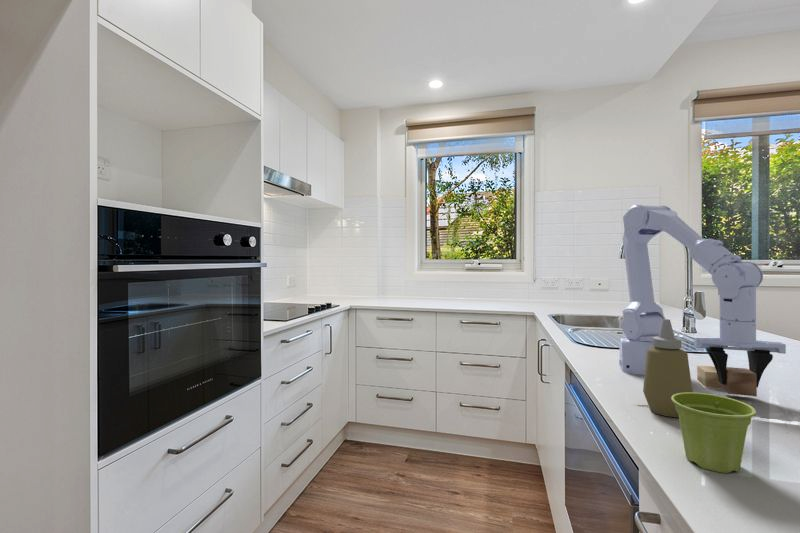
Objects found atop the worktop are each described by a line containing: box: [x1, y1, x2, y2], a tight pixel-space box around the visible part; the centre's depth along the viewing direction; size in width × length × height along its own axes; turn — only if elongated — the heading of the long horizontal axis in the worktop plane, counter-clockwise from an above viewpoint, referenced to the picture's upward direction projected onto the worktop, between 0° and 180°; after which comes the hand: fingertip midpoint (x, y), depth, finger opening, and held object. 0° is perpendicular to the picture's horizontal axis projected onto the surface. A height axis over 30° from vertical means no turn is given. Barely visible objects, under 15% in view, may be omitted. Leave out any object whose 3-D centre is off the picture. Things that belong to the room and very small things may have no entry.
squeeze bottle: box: [642, 318, 694, 418], centre depth 74 cm, size 8×8×18 cm
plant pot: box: [671, 392, 757, 474], centre depth 55 cm, size 9×9×9 cm
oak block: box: [696, 365, 723, 390], centre depth 88 cm, size 6×6×4 cm
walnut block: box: [721, 366, 758, 397], centre depth 80 cm, size 4×4×4 cm
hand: (737, 384), depth 80 cm, fingers closed on walnut block, 4 cm apart
